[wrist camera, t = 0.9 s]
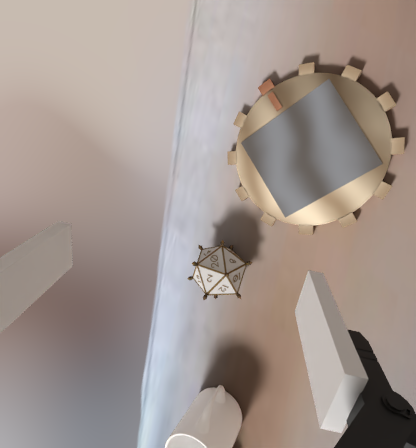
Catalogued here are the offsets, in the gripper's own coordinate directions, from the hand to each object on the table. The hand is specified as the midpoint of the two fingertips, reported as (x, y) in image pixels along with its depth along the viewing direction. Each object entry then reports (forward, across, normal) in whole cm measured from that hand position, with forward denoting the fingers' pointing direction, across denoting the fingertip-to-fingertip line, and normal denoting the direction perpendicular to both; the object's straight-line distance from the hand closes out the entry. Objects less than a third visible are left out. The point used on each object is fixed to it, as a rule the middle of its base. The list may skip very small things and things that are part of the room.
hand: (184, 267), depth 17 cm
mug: (+22, +7, -38) cm, 45 cm away
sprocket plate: (+28, +11, +4) cm, 30 cm away
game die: (+27, +4, -15) cm, 31 cm away
